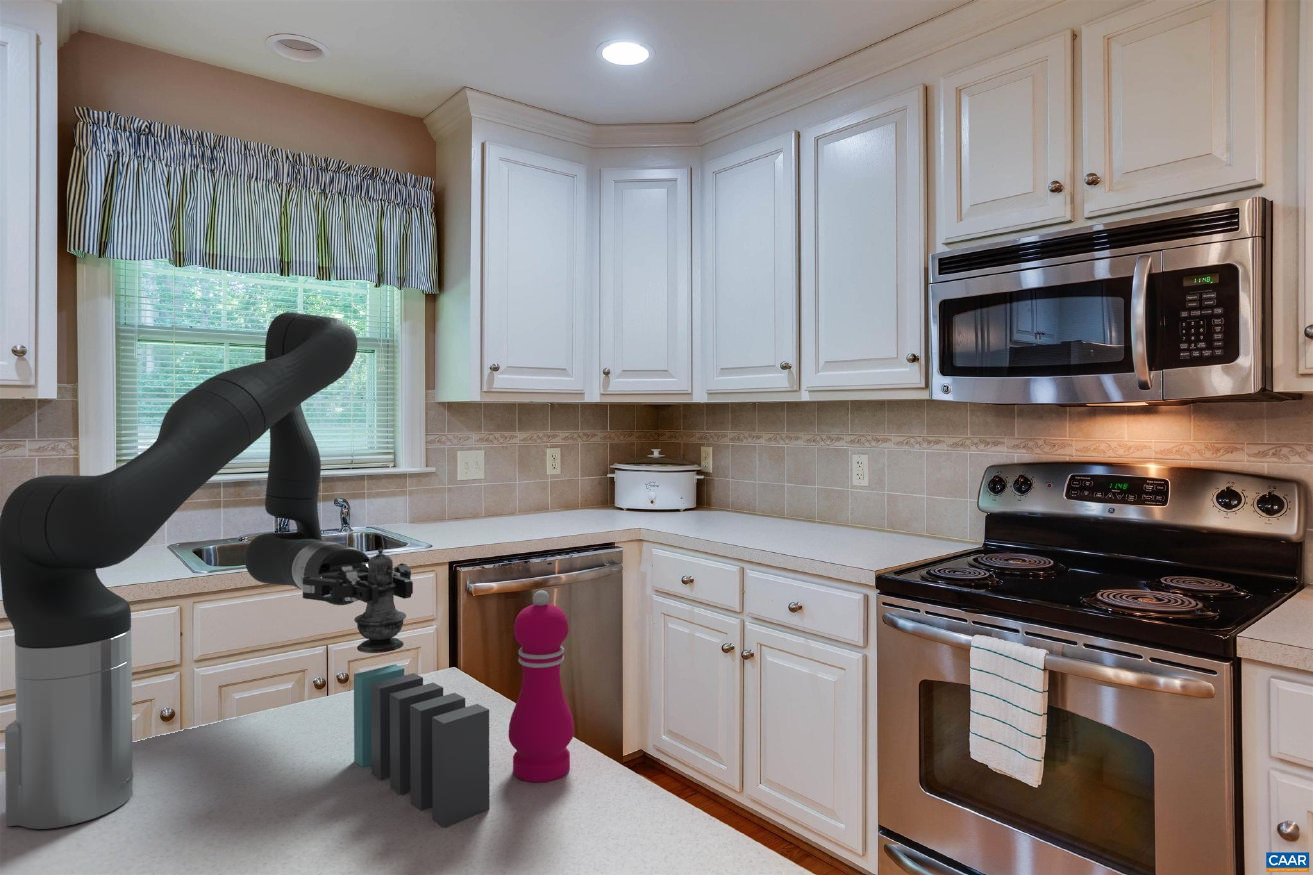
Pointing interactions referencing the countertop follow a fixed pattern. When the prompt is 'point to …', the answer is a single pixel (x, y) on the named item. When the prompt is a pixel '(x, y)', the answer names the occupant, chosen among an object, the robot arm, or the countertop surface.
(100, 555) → the robot arm
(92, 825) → the countertop surface
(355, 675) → the domino
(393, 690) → the domino
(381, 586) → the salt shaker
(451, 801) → the domino
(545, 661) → the pepper mill
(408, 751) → the domino
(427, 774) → the domino
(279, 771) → the countertop surface
